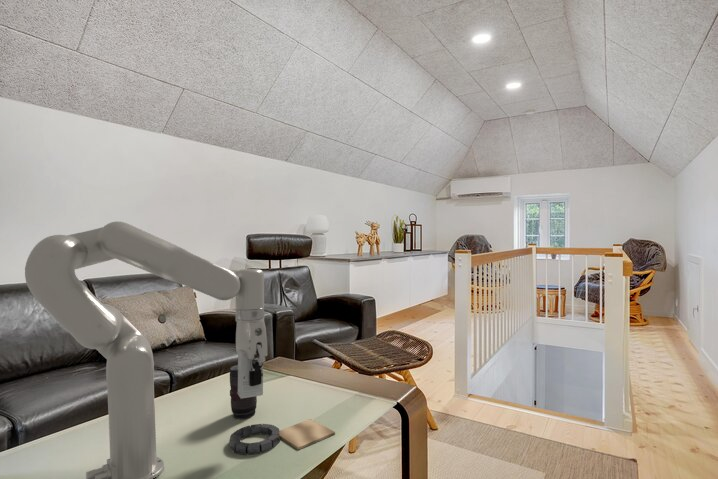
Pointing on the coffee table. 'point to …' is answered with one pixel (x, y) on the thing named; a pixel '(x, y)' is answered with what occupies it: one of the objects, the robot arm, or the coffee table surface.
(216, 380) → the coffee table surface
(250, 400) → the camera lens
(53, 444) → the coffee table surface
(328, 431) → the pad
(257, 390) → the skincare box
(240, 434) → the collar
